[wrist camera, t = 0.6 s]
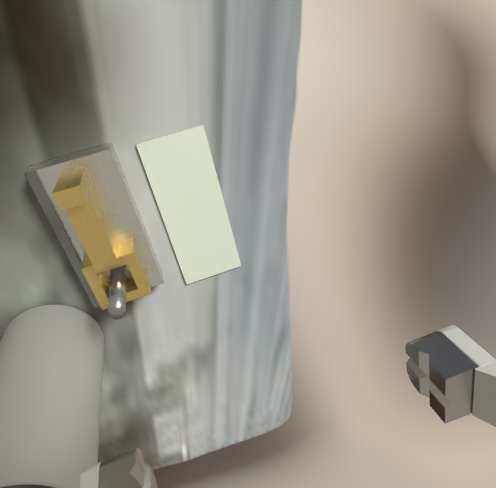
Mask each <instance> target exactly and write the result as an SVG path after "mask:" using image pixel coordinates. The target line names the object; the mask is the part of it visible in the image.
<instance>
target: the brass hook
mask: <svg viewBox="0 0 496 488" xmlns="http://www.w3.org/2000/svg"><path fill="white" fill-rule="evenodd" d="M52 195H53V197H54V199H55V201H56V203H57V205H58V207H59V209H60V211H61V210H64V209H66V211H67V214H68V216H69V218H70V220H71V222H72V224H73V226H74V228H75V230H76V232H77V234H78V236H79V238H80V240H81V242H82V244H83V246H84V248H85V250H86V252H87V254H88V255H86V256H83V261H82V267H81V270H82V272H83V274H84V276H85V278H86V279H87V281H88V283H89V285H90V287H91V289H92V291H93V293H94V295H95V297H96V299H97V301H98V303H99V305H100V307H101V309H102V310H104V309H107V308H108V302H109V285H108V283H107V280H106V278H105V276H104V274H103V272H105V271H108V270H111V269H114V268H117V267H120V266H123V265H126V264H127V265H128V267H129V269H130V271H131V274H132V276H133V278H130V279H127V280H126V302H128V301H131V300H134V299H137V298H140V297H143V296H146V295H149V294H151V286H150V280H149V277H148V275H147V272H146V270H145V268H144V265H143V263H142V260H141V258H140V256H139V253H138V251H137V248H136V246H135V244H134V241H130V242H127V243H124V244H121V245H119V243H118V241H117V239H116V236H115V234H114V232H113V230H112V227H111V225H110V223H109V220H108V218H107V216H106V214H105V211H104V209H103V207H102V204H101V202H100V200H99V198H98V195H97V193H96V191H95V188H94V186H93V184H92V182H91V179H90V177H89V175H88V172H87V170H86V168H85V166H84V167H81V168H77V169H74V170H71V171H67V172H64V173H60V176H59V178H58V180H57V183H56V185H55V188H54V190H53V192H52Z"/></svg>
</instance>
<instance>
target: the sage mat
mask: <svg viewBox="0 0 496 488" xmlns="http://www.w3.org/2000/svg"><path fill="white" fill-rule="evenodd" d="M136 146H137V149H138V152H139V155H140V157H141V160H142V163H143V166H144V168H145V171H146V174H147V177H148V179H149V182H150V185H151V188H152V190H153V193H154V196H155V199H156V201H157V204H158V207H159V210H160V213H161V215H162V218H163V221H164V224H165V226H166V229H167V232H168V235H169V237H170V240H171V243H172V246H173V248H174V251H175V254H176V257H177V260H178V262H179V265H180V268H181V271H182V273H183V276H184V279H185V282H186V284H190V283H193V282H196V281H199V280H202V279H205V278H207V277H210V276H213V275H216V274H219V273H222V272H225V271H228V270H231V269H234V268H237V267H240V266H241V263H240V259H239V255H238V252H237V248H236V244H235V241H234V237H233V233H232V230H231V226H230V222H229V219H228V215H227V211H226V208H225V204H224V200H223V196H222V193H221V189H220V185H219V182H218V178H217V174H216V171H215V167H214V163H213V160H212V156H211V152H210V149H209V145H208V141H207V138H206V134H205V130H204V126H203V125H202V126H198V127H195V128H191V129H188V130H185V131H181V132H178V133H174V134H171V135H167V136H164V137H160V138H157V139H154V140H150V141H147V142H143V143H140V144H136Z"/></svg>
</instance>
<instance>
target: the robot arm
mask: <svg viewBox="0 0 496 488" xmlns="http://www.w3.org/2000/svg"><path fill="white" fill-rule="evenodd" d="M406 353H407V355H408V356H409V357H410V358H409V360H408V361H407V363H406V364H407V372H408V375H409V377H410V380H411V382H412V383H413V385H414V387H415V388H416V389H417V391H418V392H419V393H420V394H422V395H425V396H427V397H429V398H430V406H431V407H432V409H434V411H435V412H436V413H437V414H438V416H439V417H440V418H441V419H442V420H443V422H444V423H448V422H451V421H453V420H456V419H458V418H461V417H463V416H466V415H468V414H471V413H472V415H473V416H475V417H478V418H479V419H481V420H483V421H485V422H487V423H489V424H491V425H493V426H495V427H496V360H495V359H494V358H493V357H492V356H490V355H489V354H488V353H487V352H486V351H485V350H484V349H482V348H481V347H480V346H479V345H478V344H476V343H475V342H474V341H473V340H472V339H470V338H469V337H468V336H467V335H466V334H465V333H463V332H462V331H461V330H460V329H459V328H458V327H456V326H454V325H451V326H449V327H446V328H444V329H441V330H438V331H437V332H436V331H435V332H433V333H430V334H428V335H425V336H423V337H420V338H418V339H415V340H413V341H411V342H408V343H407V344H406ZM79 488H157V484H156V480H155V476H154V474H153V471H152V469H151V467H150V465H148V464H145V463H144V455H143V453H142V452H141V450H140V449H139V448H138V449H134V450H132V451H129V452H126V453H123V454H121V455H118V456H115V457H112V458H109V459H107V460H104V461H101V462H99V463H96V464H93V465H91V466H88V467H85V468H83V469H82V472H81V474H80V481H79Z"/></svg>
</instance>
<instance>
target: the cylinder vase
mask: <svg viewBox="0 0 496 488" xmlns="http://www.w3.org/2000/svg"><path fill="white" fill-rule="evenodd" d="M103 355H104V336H103V332H102V330H101V328H100V326H99V325H98V323H97V322H96V321H95V320H94V319H93V318H92V317H91V316H90V315H88V314H87V313H85V312H84V311H82V310H79V309H77V308H74V307H71V306H66V305H43V306H38V307H35V308H32V309H29V310H27V311H25V312H23V313H21V314H20V315H18V316H17V317H16V318H14V319H13V320H12V321H11V322H10V324H9V325H8V326H7V328H6V329H5V331H4V333H3V336H2V338H1V341H0V488H79V481H80V474H81V472H82V469H83V468H85V467H88V466H91V465H93V464H96V463H98V446H99V428H100V409H101V391H102V373H103Z"/></svg>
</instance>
